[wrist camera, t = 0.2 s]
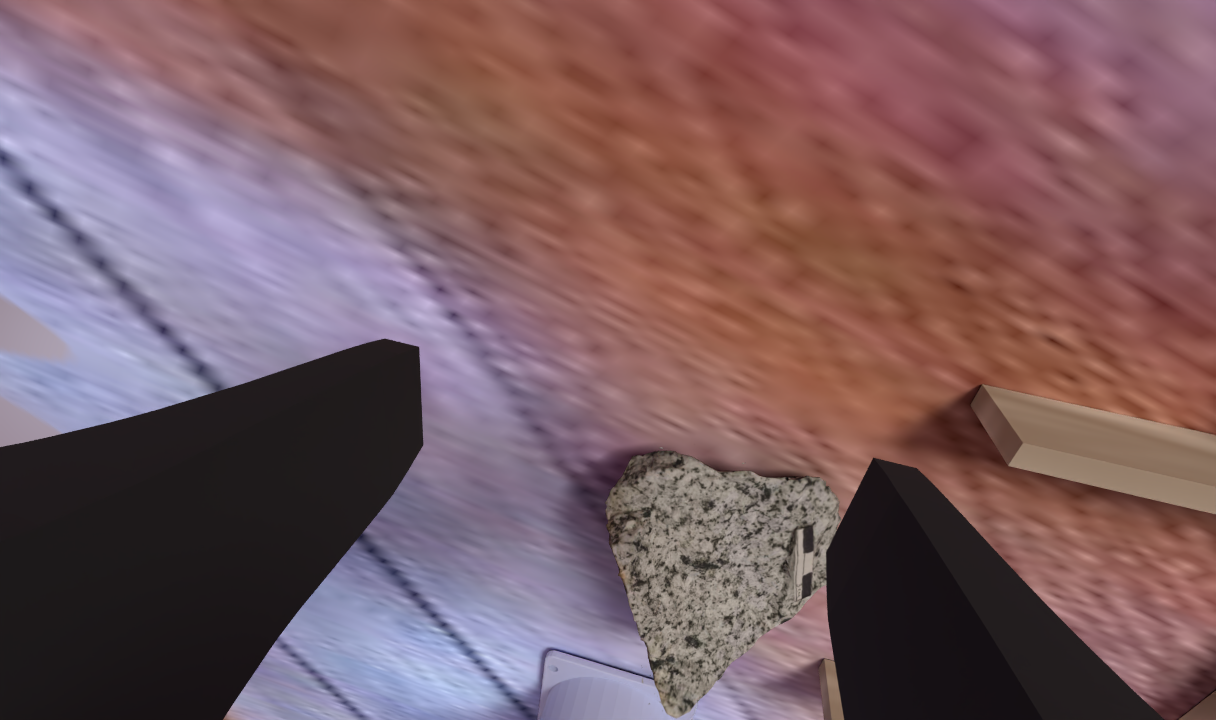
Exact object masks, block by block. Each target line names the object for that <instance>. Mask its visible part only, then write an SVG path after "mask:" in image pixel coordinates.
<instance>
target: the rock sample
mask: <svg viewBox="0 0 1216 720" xmlns="http://www.w3.org/2000/svg"><path fill="white" fill-rule="evenodd" d="M660 448H662V447H660ZM663 449H664V448H663ZM742 464H744V463H742ZM609 490H610V489H609ZM605 503H606V505H607V508H606V510H605V511H606V514H605V515H606V517H607V519H608V524H607V525H606V527H607V530H608V532H609V545H610V547H611V549H612V551H613V554H614V556H615V559H616V562H617V565H618V568H619V574H618V576H620V577H621V578H622V581H623V583H624V586H625V590H626V594H627V597H628V602H629V605H630V608H631V611H632V613H633V617H634V621H635V622H636V624H637V628H638V633H639V636H640V637H641V640H642V641H644V642H645V644H646V647H647V652H648V659H649V663H650V667H651V670H652V672H653V676H654V683H655V686H656V688H657V690H658V692H659V696H660V700H661V702H660V701H659V702H660V703H661V704H662V705H663V708H664V710H665V712H666V713H667V714H668V715H670V716H672V717H674V718H676V719H677V718H679V717H681V716H682V715H684V714H686V713H688V712H690V711H691V709H692V708H693V707H694V705H695V704H696V703H697V702H698V701H699V700H700V698H702V697H703V696H704V695H705V694H707V692H708V691H709V690H710V689H711V688H712V687H713V685H714V684H715V682H716V681H717V680H719V679H720V678H721V677H722V675H723V673H724V672H725V670H726V668H727V667H728V666H729V665H730V664H731V662H733V661H734V660H736V659H737V658H739V657H740V656H741V655H743V654H744V653H746V652H747V651H748V650H749V649H750V648H751V647H752V646H753V645H754V644H755V642H756V641H757V639H758V638H760V637H761V636H762V635H764V634H765V633H767V632H768V631H770V630H771V629H773V628H774V627H776V626H778V625H780V624H782V623H784V622H786V621H788V620H790V619H791V618H793V617H794V616H795V615H796V614H797V613H798V612H799V611H800V610H801V608H802V607H803V605H804V604H805V603H806V601H807V600H809V599H810V598H811V597H812V596H813V594H814V593H815V592H816V591H817V590H819V589H820V588H821V587H823V586H825V585H826V551H827V549H828V547H829V545H830V543H831V541H832V539H833V537H834V535H835V533H836V530H837V526H838V524H839V522H840V521H841V518H840V516H839V513H838V509H839V500H838V498H837V496H836V495H835V494H834V493H833V492H831V489H830V487H829V486H826V481H824V480H822V479H821V478H820V477H809V476H805V477H788V478H787V477H783V478H781V477H780V478H766V477H762V476H759V475H757V474H755V473H753V472H751V471H717V470H714V469H712V468H711V467H709V466H707V465H705V464H704V463H702V462H700V461H699V460H697V459H695V458H693V457H692V456H687V455H682V454H679V453H677V452H675V451H657V452H656V451H655V452H652V453H648V454H645V455H642V456H639V455H636V456H632V458H631V460H630V462H629V463H628V466H627V468H626V470H625V472H624V474H623V476H622V477H621V478H620V479H619V480H618V482H617V484H616V485H615V487H613V488H612V489H611V491H610V494H609V497H608V499H607V501H606V502H605ZM641 667H642V666H641ZM650 676H651V675H650ZM642 683H643V678H642ZM662 711H663V710H662Z"/></svg>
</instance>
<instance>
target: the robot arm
mask: <svg viewBox="0 0 1216 720" xmlns="http://www.w3.org/2000/svg"><path fill="white" fill-rule="evenodd" d="M422 446H423V428H422V404H421V380H420V357H419V347H417V346H413V345H409V344H405V343H401V342H397V341H393V340H388V339H381V340H377V341H373V342H369V343H366V344H362V345H359V346H355V347H352V348H349V349H346V350H343V351H340V352H337V353H334V354H331V355H328V356H325V357H322V358H319V359H316V360H313V361H310V362H307V363H304V364H301V365H298V366H295V367H292V368H289V369H286V370H283V371H280V372H277V373H274V374H271V375H268V376H265V377H262V378H259V379H256V380H253V381H250V382H247V383H244V384H241V385H238V386H234V387H231V388H228V389H225V390H221V391H218V392H215V393H211V394H208V395H205V396H201V397H198V398H195V399H192V400H188V401H185V402H182V403H178V404H175V405H172V406H169V407H165V408H162V409H159V410H155V411H151V412H148V413H144V414H141V415H137V416H133V417H129V418H125V419H122V420H118V421H114V422H110V423H106V424H102V425H98V426H94V427H89V428H85V429H81V430H77V431H73V432H68V433H64V434H60V435H56V436H52V437H47V438H43V439H38V440H34V441H29V442H25V443H19V444H14V445H9V446H4V447H0V720H223V719H224V717H225V715H226V714H227V712H228V711H229V709H230V708H231V706H232V705H233V703H234V702H235V700H236V699H237V697H238V696H239V694H240V693H241V691H242V690H243V688H244V687H245V685H246V684H247V682H248V681H249V680H250V678H251V677H252V675H253V674H254V672H255V671H256V669H257V668H258V666H259V665H260V663H261V662H262V660H263V659H264V657H265V656H266V654H267V653H268V651H269V650H270V648H271V647H272V646H273V644H274V643H275V641H276V640H277V638H278V637H279V636H280V634H281V633H282V632H283V630H284V629H285V628H286V627H287V625H288V624H289V623H290V621H291V620H292V619H293V617H294V616H295V615H296V613H297V612H298V611H299V609H300V608H301V607H302V606H303V605H304V603H305V602H306V601H307V600H308V599H309V597H310V596H311V595H312V594H313V592H314V591H315V590H316V589H317V588H318V586H319V585H320V584H321V583H322V581H323V580H324V579H325V578H326V577H327V575H328V574H329V573H330V572H331V570H332V569H333V568H334V567H335V566H336V564H337V563H338V562H339V561H340V560H341V558H342V557H343V556H344V555H345V553H346V552H347V551H348V550H349V549H350V547H351V546H352V545H353V544H354V542H355V541H356V540H357V539H358V538H359V536H360V535H361V534H362V533H363V531H364V530H365V529H366V528H367V526H368V525H369V524H370V523H371V522H372V520H373V519H374V518H375V517H376V515H377V514H378V513H379V512H380V510H381V509H382V508H383V507H384V505H385V504H386V503H387V501H388V500H389V499H390V498H391V496H392V495H393V494H394V492H395V490H396V489H397V487H398V486H399V484H400V483H401V481H402V479H403V478H404V476H405V475H406V473H407V472H408V470H409V468H410V467H411V465H412V463H413V461H414V460H415V458H416V456H417V455H418V453H419V451H420V450H421V448H422ZM826 587H827V610H828V622H829V629H830V636H831V642H832V648H833V655H834V661H835V667H836V674H837V680H838V686H839V692H840V698H841V704H842V710H843V716H844V720H1164V719H1163V718H1162V717H1161V716H1160V715H1159V714H1158V713H1157V712H1156V711H1155V710H1154V709H1153V708H1151V707H1150V706H1149V705H1148V704H1147V703H1146V702H1145V701H1144V700H1143V699H1142V698H1141V697H1140V696H1139V695H1137V694H1136V693H1135V692H1134V691H1133V690H1132V689H1131V688H1130V687H1129V686H1128V685H1127V684H1126V683H1125V682H1124V681H1123V680H1122V679H1121V678H1120V677H1119V676H1118V675H1117V674H1116V673H1115V672H1114V671H1113V670H1112V669H1111V668H1110V667H1109V666H1108V665H1107V664H1105V663H1104V662H1103V661H1102V660H1101V659H1100V658H1099V657H1098V656H1097V655H1096V654H1095V653H1094V652H1093V651H1092V650H1091V649H1090V648H1089V647H1088V646H1087V645H1086V644H1085V643H1084V642H1083V641H1082V640H1081V639H1080V638H1079V637H1078V636H1077V635H1076V634H1075V633H1074V632H1073V631H1072V630H1071V629H1070V628H1069V627H1068V626H1067V625H1066V624H1065V623H1064V622H1063V621H1062V620H1061V619H1060V618H1059V617H1058V616H1057V615H1056V614H1055V613H1054V612H1053V611H1052V610H1051V609H1050V608H1049V607H1048V606H1047V605H1046V604H1045V603H1044V602H1043V601H1042V600H1041V599H1040V597H1039V596H1038V595H1037V594H1036V593H1035V592H1034V591H1033V590H1032V589H1031V588H1030V587H1029V586H1028V585H1027V584H1026V583H1025V582H1024V581H1023V580H1022V579H1021V578H1020V577H1019V575H1018V574H1017V573H1016V572H1015V571H1014V570H1013V569H1012V568H1011V567H1010V566H1009V565H1008V564H1007V563H1006V562H1005V561H1004V559H1003V558H1002V557H1001V556H1000V555H999V554H998V553H997V552H996V551H995V550H994V549H993V548H992V547H991V546H990V544H989V543H988V542H987V541H986V540H985V539H984V538H983V537H982V536H981V535H980V534H979V533H978V531H977V530H976V529H975V528H974V527H973V526H972V525H971V524H970V523H969V522H968V521H967V520H966V518H965V517H964V516H963V515H962V514H961V513H960V512H959V511H958V510H957V509H956V508H955V507H954V506H953V505H952V503H951V502H950V501H949V500H948V499H947V498H946V497H945V496H944V495H943V494H942V493H941V492H940V491H939V490H938V489H937V488H936V487H935V486H934V485H933V484H932V483H931V482H930V481H929V480H928V479H927V478H926V477H925V476H924V475H923V474H922V473H921V472H920V471H919V470H918V469H917V468H913V467H909V466H905V465H901V464H897V463H893V462H889V461H885V460H881V459H876V458H873V460H872V462H871V464H870V466H869V468H868V470H867V472H866V474H865V476H864V478H863V480H862V482H861V484H860V486H859V488H858V490H857V492H856V494H855V496H854V498H853V500H852V502H851V503H850V505H849V507H848V509H847V511H846V513H845V515H844V517H843V519H842V521H841V523H840V525H839V527H838V529H837V531H836V533H835V535H834V537H833V539H832V541H831V543H830V545H829V547H828V549H827V551H826ZM642 678H643V683H642ZM659 701H660V702H661V700H660V696H659V692H658V690H657V688H656V686H655V683H654V680H652V679H648V678H645V677H642V676H639V675H635V674H632V673H629V672H625V671H622V670H619V669H615V668H612V667H609V666H606V665H602V664H599V663H596V662H592V661H589V660H586V659H582V658H579V657H576V656H572V655H569V654H566V653H563V652H559V651H555V650H551V651H549V652H548V653H547V655H546V658H545V663H544V671H543V679H542V687H541V695H540V703H539V711H538V719H537V720H692V719H693V716H694V714H695V711H696V709H697V706H698V702H697V703H696V704H695V705H694V707H693V708H692V709H691V711H690V712H688V713H686V714H684V715H682V716H681V717H679V718H677V719H676V718H674V717H672V716H670V715H668V714H667V713H666V712H665V710H664V708H663V705H662V704H661V703H660V702H659ZM662 710H663V711H662Z"/></svg>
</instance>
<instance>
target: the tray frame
mask: <svg viewBox="0 0 1216 720" xmlns="http://www.w3.org/2000/svg"><path fill="white" fill-rule="evenodd" d="M970 406H971V407H972V409H973V411H974V412H975V414H976V415H977V417H978V419H979V420H980V422H981V423H982V425H983V427H984V428H985V430H986V431H987V433H988V435H989V436H990V438H991V439H992V441H993V443H994V444H995V446H996V447H997V449H998V451H999V452H1000V454H1001V455H1002V457H1003V459H1004V460H1005V462H1006V463H1007V465H1008V466H1011V467H1015V468H1019V469H1024V470H1028V471H1032V472H1037V473H1041V474H1045V475H1049V476H1054V477H1058V478H1062V479H1067V480H1071V481H1075V482H1079V483H1084V484H1088V485H1092V486H1096V487H1101V488H1105V489H1109V490H1114V491H1118V492H1122V493H1126V494H1131V495H1135V496H1139V497H1144V498H1148V499H1152V500H1156V501H1161V502H1165V503H1169V504H1174V505H1178V506H1182V507H1186V508H1191V509H1195V510H1199V511H1204V512H1208V513H1212V514H1216V435H1213V434H1208V433H1204V432H1199V431H1195V430H1190V429H1185V428H1181V427H1176V426H1172V425H1167V424H1162V423H1158V422H1153V421H1149V420H1144V419H1139V418H1135V417H1130V416H1126V415H1121V414H1116V413H1112V412H1107V411H1103V410H1098V409H1093V408H1089V407H1084V406H1080V405H1075V404H1070V403H1066V402H1061V401H1056V400H1052V399H1047V398H1043V397H1038V396H1033V395H1029V394H1024V393H1020V392H1015V391H1010V390H1006V389H1001V388H997V387H992V386H987V385H983V384H982V386H981V387H980V389H979V391H978V393H977V394H976V396H975V398H974V400H973V401H972V403H971V405H970ZM819 678H820V687H821V696H822V705H823V714H824V720H844V716H843V710H842V704H841V698H840V692H839V686H838V680H837V674H836V667H835V662H834V661H831V660H827V659H824V660H823V662H822V663H821V665H820V667H819ZM1179 720H1216V691H1214V692H1213V693H1212V694H1211V695H1209V696H1208V697H1207V698H1205V699H1204V700H1203V701H1202V702H1200V703H1199V704H1198V705H1197V706H1195V707H1194V708H1193V709H1191V710H1190V711H1189V712H1188V713H1186V714H1185V715H1184V716H1183V717H1181V718H1180V719H1179Z"/></svg>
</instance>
